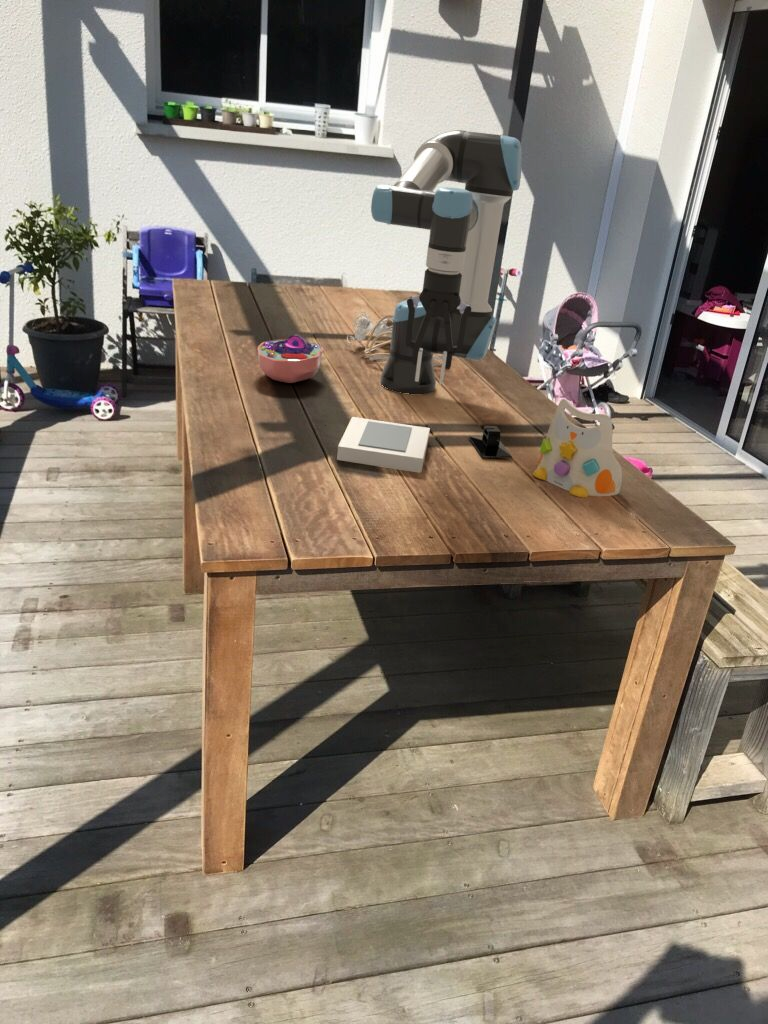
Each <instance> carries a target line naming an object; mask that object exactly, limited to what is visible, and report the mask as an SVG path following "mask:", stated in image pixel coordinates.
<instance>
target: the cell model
mask: <svg viewBox="0 0 768 1024" xmlns="http://www.w3.org/2000/svg"><path fill="white" fill-rule="evenodd" d="M305 339H306V338H304V337H303V336H302V335H299V334H292V335H290V336H288V337H287V339H285V338H283V339H282V338H279V339H273V340H267V341H263V342H261V343H260V344H259V345H258V347H257V357H258V366H259V369H260V370H261V371H262V372H263V373H264V374H265V376H267V377H269V378H270V379H271V380H273V381H276V382H282V383H285V384H286V383H287V384H295V383H297V382H298V383H299V382H302V381H305V380H309V379H311V378H312V377H314V375H315V374H316V373H318V371H319V369H320V365H321V361H322V357H323V352H324V348H323V346H321V345H319V344H317V343H314V342H308V341H306V340H305Z"/></svg>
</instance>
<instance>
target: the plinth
mask: <svg viewBox="0 0 768 1024" xmlns="http://www.w3.org/2000/svg"><path fill="white" fill-rule="evenodd" d="M430 430H431V428H430V427H425V426H420V425H419V426H417V425H412V424H411V425H410V424H404V423H397V422H390V421H383V420H376V419H371V418H363V417H356V416H352V417H351V419H350V420H349V423H348V425H347V427H346V429H345V432H344V433H343V436H342V437H341V439H340V441H339V443H338V446H337V453H336V454H337V455H336V456H337V457H336V460H337V461H342V462H343V461H344V462H348V463H349V462H350V463H354V464H355V463H356V464H362V465H368V466H375V467H381V468H386V469H393V470H400V471H404V472H405V471H406V472H412V473H418V474H419V473H420V474H422V470H423V466H424V462H425V459H426V453H427V449H428V443H429V436H430V432H431V431H430Z"/></svg>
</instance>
